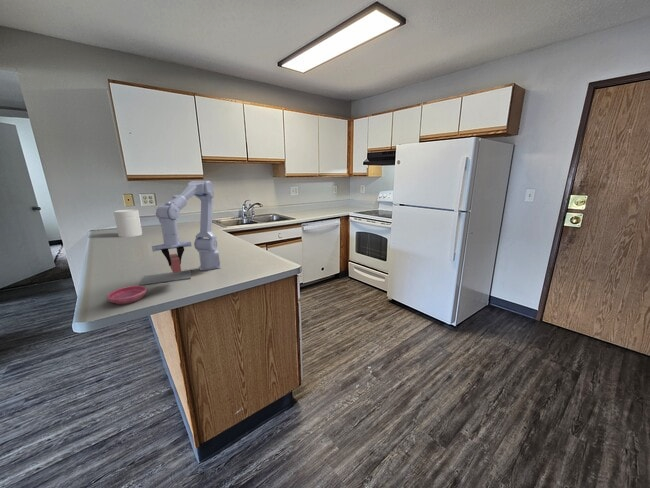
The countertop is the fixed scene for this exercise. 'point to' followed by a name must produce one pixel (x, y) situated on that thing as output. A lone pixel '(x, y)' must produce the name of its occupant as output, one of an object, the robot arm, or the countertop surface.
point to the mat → (165, 277)
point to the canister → (128, 223)
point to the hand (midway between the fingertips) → (174, 264)
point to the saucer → (127, 294)
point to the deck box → (175, 263)
